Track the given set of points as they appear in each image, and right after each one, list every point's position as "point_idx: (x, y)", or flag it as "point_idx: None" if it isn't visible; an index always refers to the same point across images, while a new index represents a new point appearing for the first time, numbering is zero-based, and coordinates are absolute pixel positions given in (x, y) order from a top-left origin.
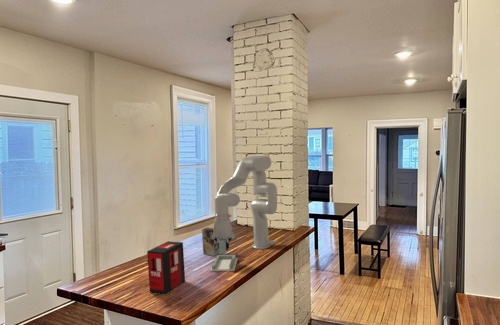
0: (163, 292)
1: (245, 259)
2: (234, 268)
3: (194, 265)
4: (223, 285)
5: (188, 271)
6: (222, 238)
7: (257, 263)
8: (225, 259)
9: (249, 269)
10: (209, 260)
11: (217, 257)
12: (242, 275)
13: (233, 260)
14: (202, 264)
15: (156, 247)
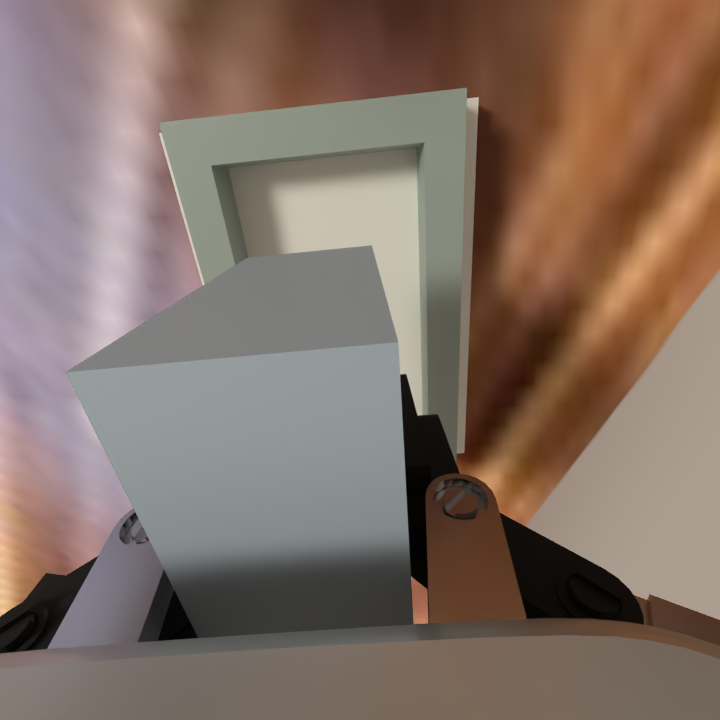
0: None
1: (584, 89)
2: (463, 430)
3: (19, 329)
4: (416, 617)
5: (71, 461)
6: (255, 582)
7: (709, 251)
8: (315, 175)
9: (594, 409)
10: (88, 147)
11: (213, 242)
12: (528, 510)
13: (456, 351)
14: (87, 298)
15: None
